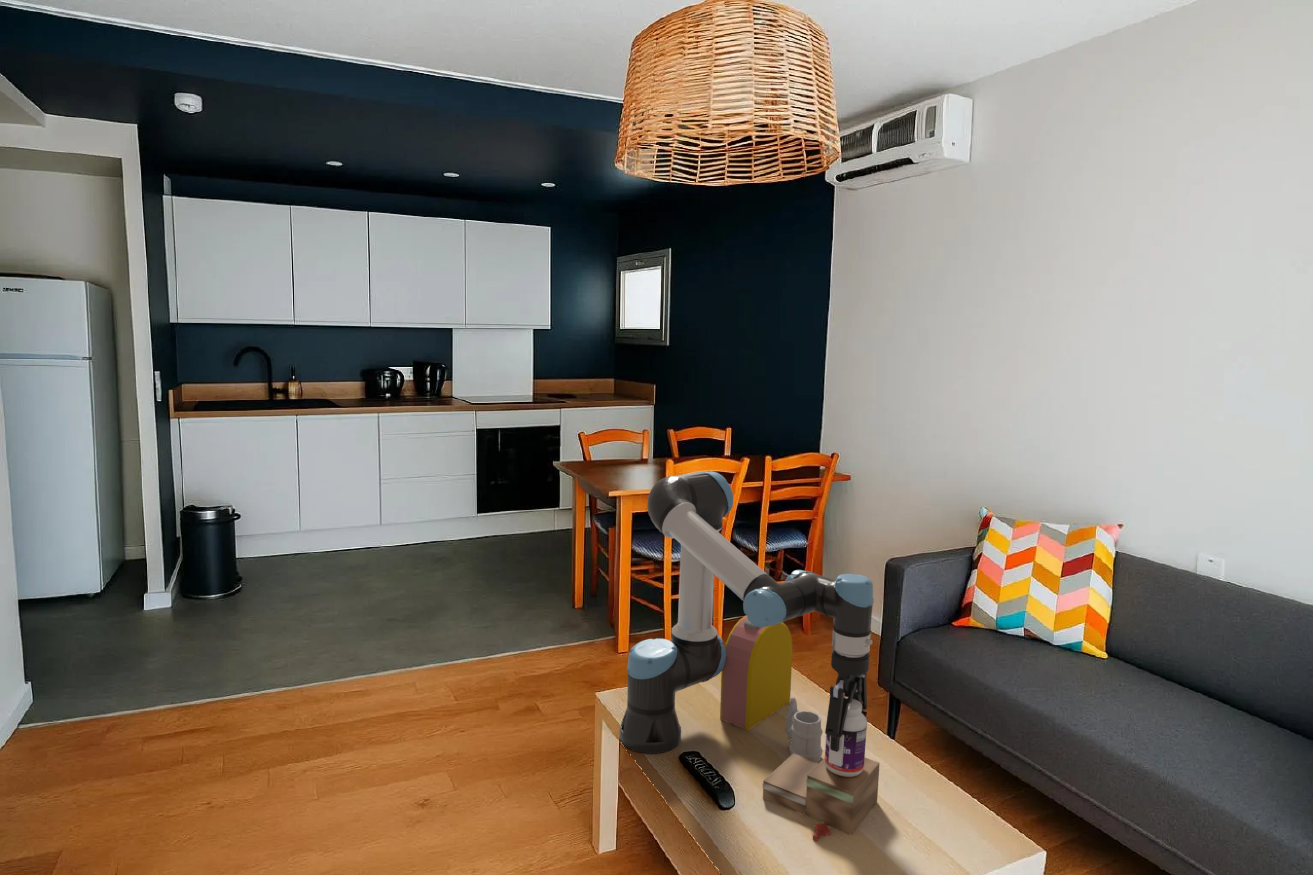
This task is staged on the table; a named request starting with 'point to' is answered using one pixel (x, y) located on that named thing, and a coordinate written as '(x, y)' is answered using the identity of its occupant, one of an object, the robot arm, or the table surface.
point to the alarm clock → (755, 673)
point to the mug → (804, 732)
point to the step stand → (823, 793)
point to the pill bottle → (851, 743)
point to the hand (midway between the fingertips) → (844, 753)
